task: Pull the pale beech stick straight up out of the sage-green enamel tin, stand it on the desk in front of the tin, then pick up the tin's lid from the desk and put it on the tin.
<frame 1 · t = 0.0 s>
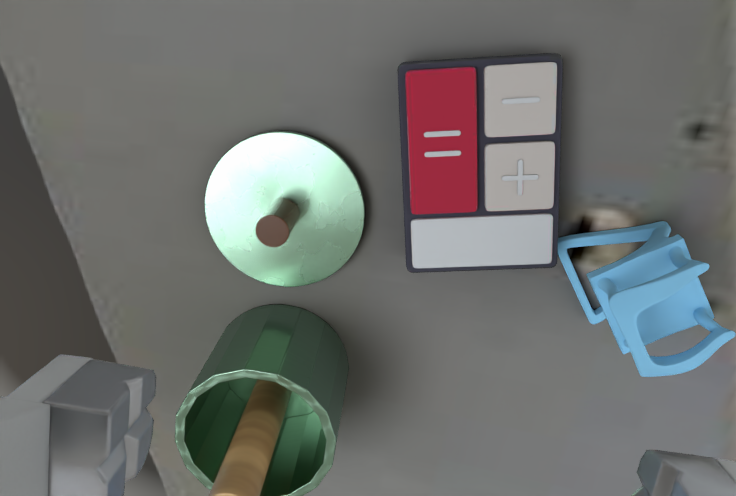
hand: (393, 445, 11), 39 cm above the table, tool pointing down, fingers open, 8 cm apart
tin lid: (285, 210, 50), point 1 cm above the table
calculator: (475, 160, 48), on the table
stick: (281, 367, 55), resting on tin
chair: (619, 259, 50), on the table
tin: (282, 364, 55), on the table
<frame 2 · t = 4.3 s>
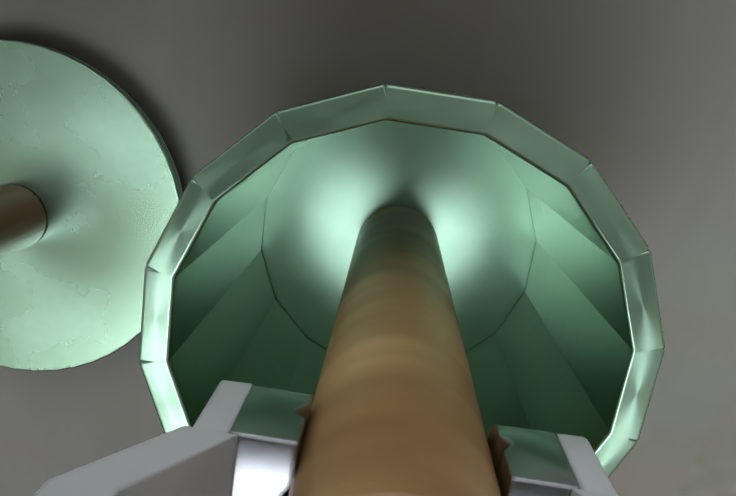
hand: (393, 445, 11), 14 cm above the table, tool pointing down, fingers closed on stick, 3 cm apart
tin lid: (24, 212, 24), point 1 cm above the table
stick: (397, 244, 24), point 1 cm above the table, touching gripper, tin
tin: (397, 241, 24), on the table
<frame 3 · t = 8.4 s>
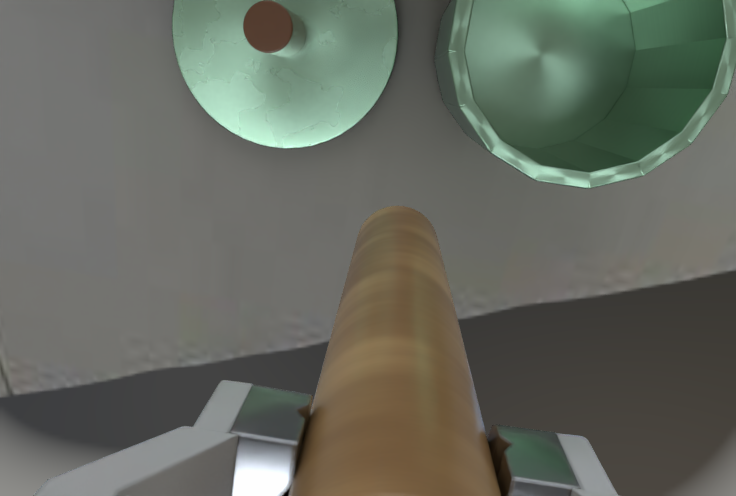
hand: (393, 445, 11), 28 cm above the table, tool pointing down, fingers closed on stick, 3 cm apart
tin lid: (285, 34, 35), point 1 cm above the table
stick: (397, 245, 24), point 14 cm above the table, touching gripper
tin: (538, 55, 36), on the table
when the fingers open (13 cm above the table, at t = 12.6 s): stick stays where it is, on the table.
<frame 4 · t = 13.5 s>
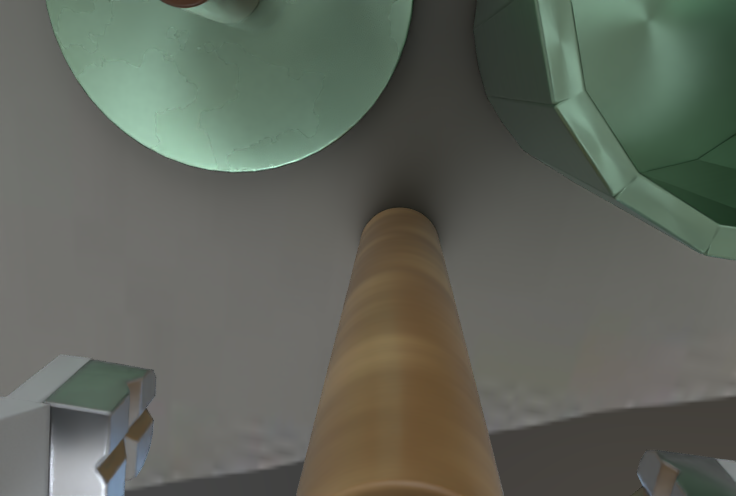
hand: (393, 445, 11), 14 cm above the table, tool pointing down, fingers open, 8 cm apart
stick: (399, 245, 24), on the table
tin: (642, 21, 22), on the table
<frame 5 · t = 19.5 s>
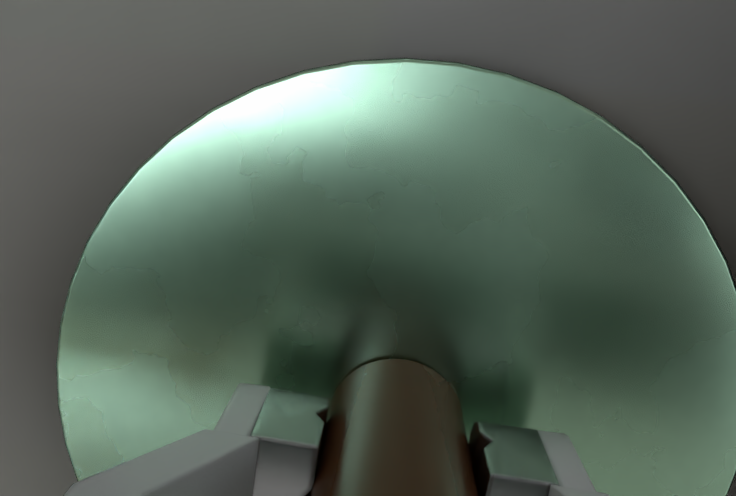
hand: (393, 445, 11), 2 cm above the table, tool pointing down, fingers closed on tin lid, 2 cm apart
tin lid: (395, 402, 12), point 1 cm above the table, touching gripper
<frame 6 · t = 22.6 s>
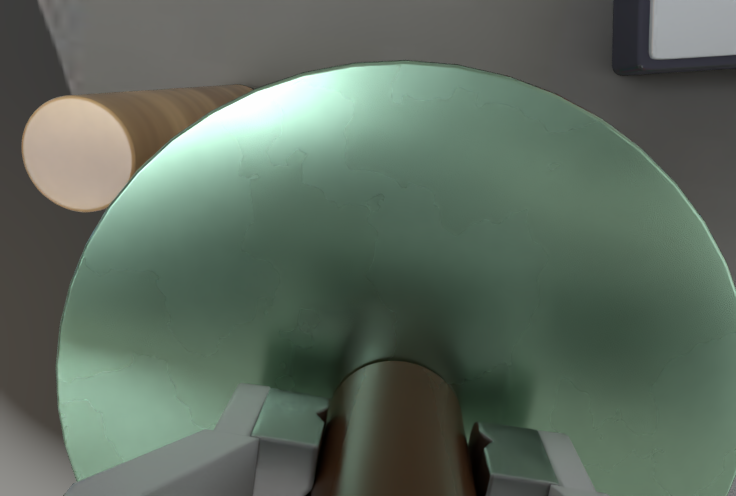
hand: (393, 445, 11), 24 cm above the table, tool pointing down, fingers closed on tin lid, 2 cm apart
tin lid: (394, 404, 12), point 22 cm above the table, touching gripper
stick: (238, 114, 33), on the table
when the fingers open (12 cm above the table, at t = 25.9 s): tin lid stays where it is, resting on tin.
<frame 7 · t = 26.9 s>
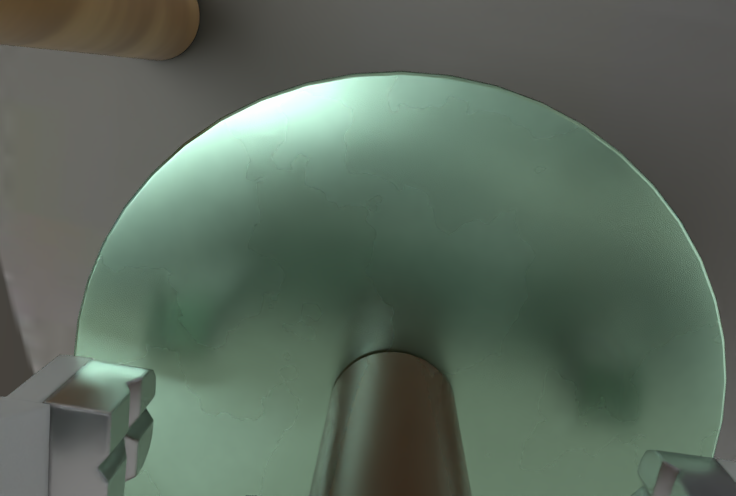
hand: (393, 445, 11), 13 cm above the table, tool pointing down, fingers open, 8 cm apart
tin lid: (392, 393, 13), point 10 cm above the table, touching tin
stick: (155, 13, 21), on the table
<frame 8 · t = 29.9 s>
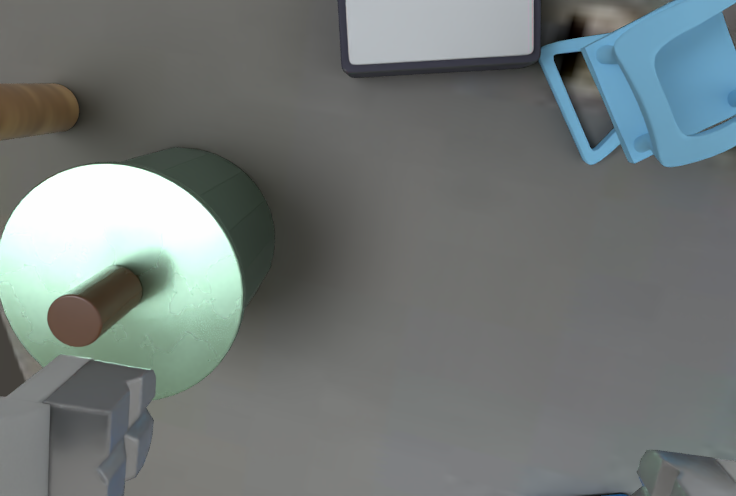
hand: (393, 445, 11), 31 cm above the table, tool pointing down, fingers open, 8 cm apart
tin lid: (123, 284, 32), point 10 cm above the table, touching tin
stick: (56, 107, 41), on the table
chair: (622, 77, 39), on the table
tin: (189, 234, 42), on the table
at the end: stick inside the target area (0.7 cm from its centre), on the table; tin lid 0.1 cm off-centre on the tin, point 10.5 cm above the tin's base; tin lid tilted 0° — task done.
